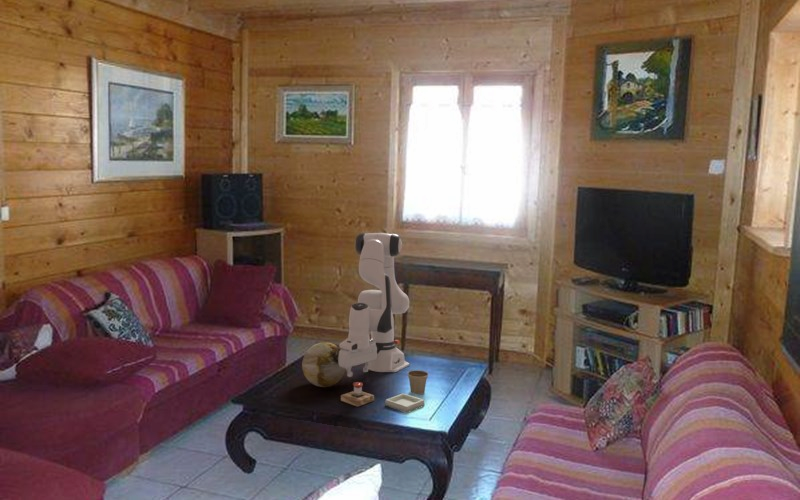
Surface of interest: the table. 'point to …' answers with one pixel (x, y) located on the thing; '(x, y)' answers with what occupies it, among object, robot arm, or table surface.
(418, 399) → the tray
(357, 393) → the pin
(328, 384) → the decorative sphere
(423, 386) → the flower pot
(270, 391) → the table surface
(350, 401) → the block
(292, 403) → the table surface
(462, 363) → the table surface
